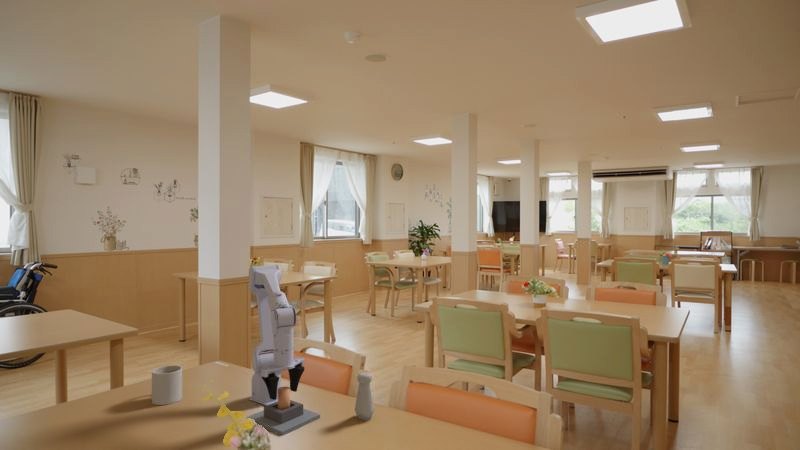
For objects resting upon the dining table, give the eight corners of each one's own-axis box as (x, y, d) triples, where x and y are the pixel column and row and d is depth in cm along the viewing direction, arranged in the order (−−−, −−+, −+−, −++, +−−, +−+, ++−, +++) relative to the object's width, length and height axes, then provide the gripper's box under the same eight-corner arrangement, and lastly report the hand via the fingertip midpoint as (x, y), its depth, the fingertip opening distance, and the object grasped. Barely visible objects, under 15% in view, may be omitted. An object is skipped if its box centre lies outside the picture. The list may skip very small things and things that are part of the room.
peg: (275, 416, 133) (275, 389, 133) (284, 412, 136) (284, 385, 136) (283, 419, 131) (282, 391, 131) (292, 415, 134) (292, 388, 134)
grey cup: (173, 405, 144) (173, 373, 144) (144, 405, 144) (143, 373, 144) (190, 392, 155) (190, 363, 155) (162, 392, 155) (162, 363, 155)
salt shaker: (371, 422, 132) (371, 377, 132) (352, 420, 133) (352, 376, 133) (376, 414, 137) (376, 371, 137) (358, 412, 138) (358, 369, 138)
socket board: (246, 420, 133) (246, 406, 133) (284, 405, 144) (284, 392, 144) (282, 435, 123) (282, 420, 123) (320, 417, 135) (320, 404, 135)
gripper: (272, 356, 126) (272, 405, 126) (311, 345, 137) (311, 390, 137) (256, 352, 130) (256, 400, 130) (295, 341, 141) (295, 385, 141)
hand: (283, 394), depth 134 cm, fingers open, 7 cm apart
